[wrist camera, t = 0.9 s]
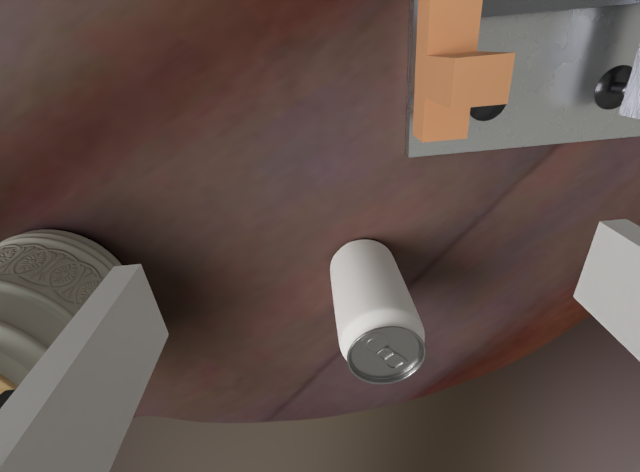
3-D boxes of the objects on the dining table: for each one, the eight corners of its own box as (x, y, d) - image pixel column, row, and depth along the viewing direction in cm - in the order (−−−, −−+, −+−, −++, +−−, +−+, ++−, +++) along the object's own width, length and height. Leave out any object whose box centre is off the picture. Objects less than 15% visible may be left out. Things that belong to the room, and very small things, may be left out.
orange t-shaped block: (408, -10, 24) (463, -38, 16) (453, -14, 24) (531, -45, 16) (404, 128, 28) (445, 161, 20) (442, 124, 28) (499, 156, 20)
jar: (161, 314, 38) (63, 504, 22) (53, 346, 39) (-111, 545, 23) (88, 207, 32) (-119, 364, 16) (-37, 248, 33) (-339, 429, 17)
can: (367, 224, 34) (398, 306, 23) (406, 267, 36) (449, 358, 26) (316, 263, 35) (322, 356, 25) (355, 301, 38) (376, 400, 27)
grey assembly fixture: (411, -52, 24) (478, -112, 15) (707, -80, 24) (956, -156, 15) (404, 153, 31) (448, 199, 21) (636, 132, 31) (779, 169, 21)
